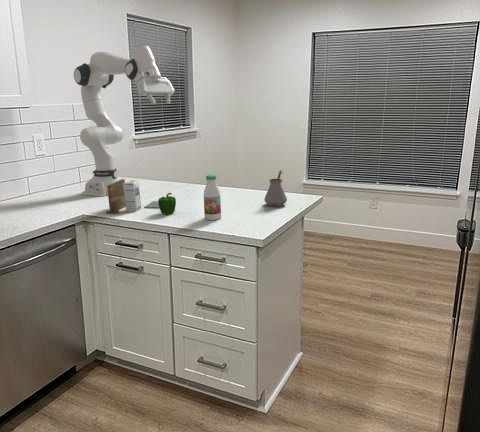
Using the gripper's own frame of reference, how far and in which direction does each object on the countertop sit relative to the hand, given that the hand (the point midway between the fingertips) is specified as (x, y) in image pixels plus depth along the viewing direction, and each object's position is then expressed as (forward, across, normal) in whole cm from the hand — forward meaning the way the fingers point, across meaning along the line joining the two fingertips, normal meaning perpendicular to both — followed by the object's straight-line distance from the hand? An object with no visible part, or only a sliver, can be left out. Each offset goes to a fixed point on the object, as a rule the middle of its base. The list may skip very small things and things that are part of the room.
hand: (161, 103), depth 218 cm
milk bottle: (+61, +3, +7) cm, 62 cm away
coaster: (+43, -1, -28) cm, 52 cm away
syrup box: (+42, +12, -33) cm, 54 cm away
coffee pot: (+64, -37, +17) cm, 76 cm away
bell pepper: (+51, +8, -14) cm, 53 cm away
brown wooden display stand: (+39, +16, -39) cm, 57 cm away
